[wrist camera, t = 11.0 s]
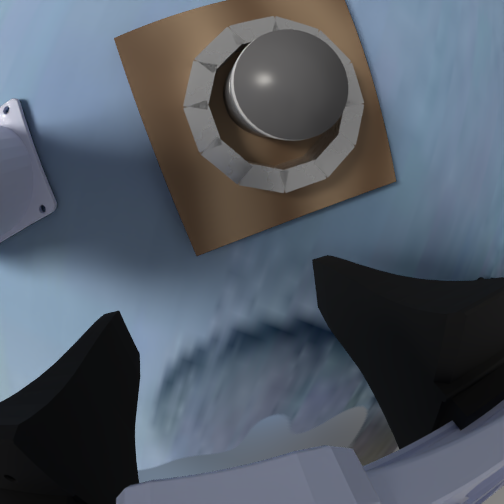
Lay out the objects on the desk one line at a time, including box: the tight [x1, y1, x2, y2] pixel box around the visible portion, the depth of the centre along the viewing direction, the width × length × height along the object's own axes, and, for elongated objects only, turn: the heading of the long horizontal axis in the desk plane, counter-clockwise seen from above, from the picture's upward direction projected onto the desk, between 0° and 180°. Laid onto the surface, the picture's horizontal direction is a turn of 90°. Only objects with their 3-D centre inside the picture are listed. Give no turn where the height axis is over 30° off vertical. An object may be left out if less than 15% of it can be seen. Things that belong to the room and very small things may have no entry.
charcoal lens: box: [223, 29, 348, 141], centre depth 14 cm, size 5×5×5 cm
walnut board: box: [114, 0, 396, 256], centre depth 17 cm, size 14×14×1 cm
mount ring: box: [183, 16, 364, 193], centre depth 16 cm, size 9×9×2 cm
